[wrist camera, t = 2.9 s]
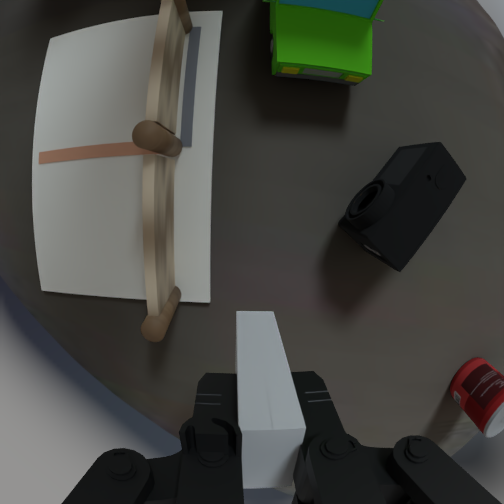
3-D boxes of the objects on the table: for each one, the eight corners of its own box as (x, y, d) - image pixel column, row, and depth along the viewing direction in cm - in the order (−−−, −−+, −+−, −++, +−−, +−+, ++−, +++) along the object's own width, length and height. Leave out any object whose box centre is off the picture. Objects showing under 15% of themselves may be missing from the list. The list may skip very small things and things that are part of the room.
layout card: (52, 40, 20) (49, 38, 20) (222, 13, 22) (222, 10, 21) (44, 288, 27) (41, 290, 26) (210, 300, 28) (209, 303, 27)
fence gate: (160, 160, 24) (133, 154, 17) (181, 160, 24) (160, 153, 17) (163, 302, 27) (142, 341, 20) (181, 303, 27) (166, 343, 20)
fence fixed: (174, 21, 21) (156, -24, 13) (193, 20, 21) (180, -27, 13) (161, 157, 24) (131, 149, 16) (182, 156, 24) (158, 147, 17)
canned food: (465, 397, 35) (499, 436, 24) (439, 395, 34) (476, 440, 23) (491, 359, 34) (531, 394, 23) (467, 352, 32) (512, 392, 22)
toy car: (256, 82, 24) (267, 34, 14) (258, -22, 21) (267, -83, 11) (363, 94, 24) (418, 62, 15) (353, -9, 21) (389, -57, 11)
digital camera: (391, 136, 25) (432, 128, 19) (424, 175, 26) (468, 178, 20) (327, 215, 27) (356, 227, 20) (366, 251, 28) (400, 273, 21)
